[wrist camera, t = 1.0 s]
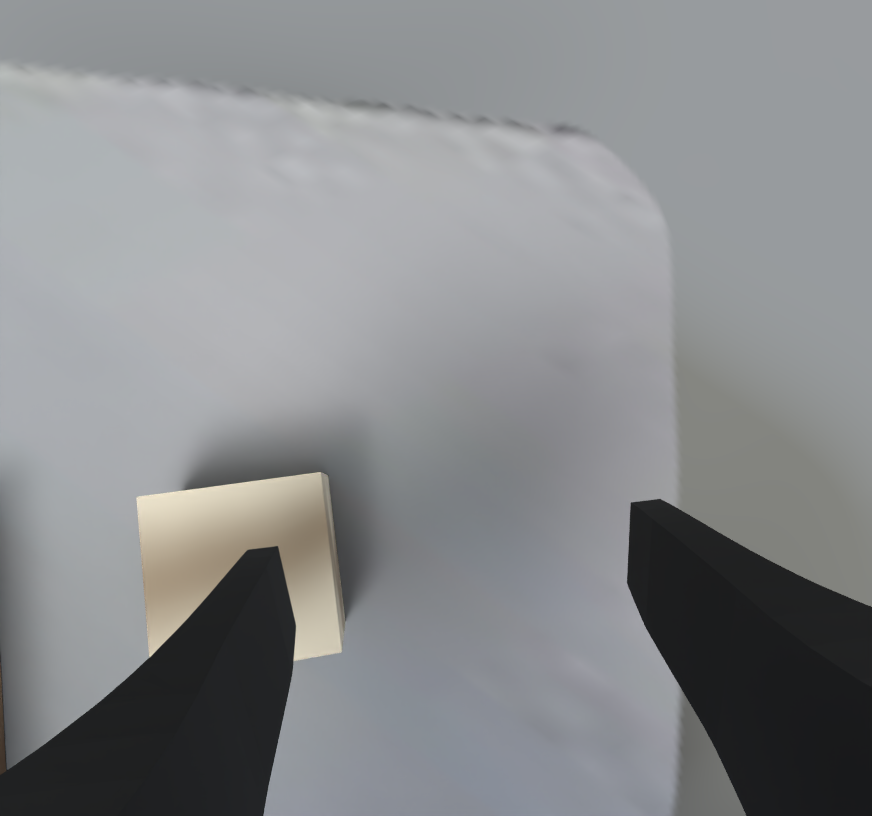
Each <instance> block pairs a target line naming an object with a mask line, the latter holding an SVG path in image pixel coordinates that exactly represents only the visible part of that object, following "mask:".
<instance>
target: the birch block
mask: <svg viewBox="0 0 872 816" xmlns="http://www.w3.org/2000/svg"><path fill="white" fill-rule="evenodd" d="M137 509H138V521H139V533H140V546H141V558H142V570H143V583H144V595H145V608H146V620H147V632H148V645H149V657H151V656H152V655H153V654H154V653H155V652H156V651H157V650H158V648H159V647H160V646H161V645H162V644H163V643H164V642H165V641H166V640H167V639H168V638H169V637H170V636H171V635H172V634H173V633H174V632H175V631H176V630H177V629H178V628H179V627H180V626H181V625H182V624H183V623H184V622H185V621H186V620H187V619H188V617H189V616H190V615H191V614H192V613H193V612H194V611H195V610H196V608H197V607H198V606H199V605H200V604H201V603H202V602H203V601H204V600H205V598H206V597H207V596H208V595H209V594H210V593H211V591H212V590H213V589H214V588H215V587H216V586H217V584H218V583H219V582H220V581H221V580H222V579H223V577H224V576H225V575H226V574H227V573H228V572H229V570H230V569H231V568H232V567H233V566H234V565H235V563H236V562H237V561H238V560H239V559H240V558H241V556H242V555H243V554H244V553H245V552H246V551H247V550H249V549H257V548H266V547H274V546H278V548H279V552H280V557H281V561H282V566H283V570H284V574H285V579H286V583H287V588H288V592H289V596H290V601H291V605H292V609H293V614H294V618H295V623H296V636H295V649H294V660H293V661H296V660H302V659H308V658H313V657H319V656H325V655H330V654H336V653H342V647H343V638H344V629H345V614H344V605H343V597H342V588H341V580H340V571H339V563H338V555H337V546H336V538H335V529H334V521H333V512H332V504H331V496H330V487H329V479H328V475H326V474H324V473H322V472H316V473H309V474H302V475H294V476H287V477H280V478H272V479H265V480H257V481H250V482H243V483H235V484H228V485H221V486H213V487H206V488H198V489H191V490H184V491H176V492H169V493H162V494H154V495H147V496H140V497H137Z"/></svg>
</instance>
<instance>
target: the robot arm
mask: <svg viewBox="0 0 872 816" xmlns="http://www.w3.org/2000/svg"><path fill="white" fill-rule="evenodd" d="M627 584H628V587H629V589H630V591H631V594H632V596H633V599H634V601H635V604H636V606H637V609H638V611H639V613H640V615H641V618H642V620H643V622H644V625H645V627H646V629H647V630H648V632H649V634H650V636H651V638H652V639H653V641H654V643H655V644H656V646H657V648H658V650H659V651H660V653H661V655H662V657H663V658H664V660H665V662H666V663H667V665H668V667H669V668H670V670H671V672H672V674H673V675H674V677H675V679H676V680H677V682H678V684H679V685H680V687H681V689H682V690H683V692H684V694H685V696H686V697H687V699H688V701H689V702H690V704H691V706H692V707H693V709H694V711H695V712H696V714H697V716H698V717H699V719H700V721H701V723H702V724H703V726H704V728H705V730H706V731H707V734H708V735H709V737H710V739H711V741H712V743H713V745H714V747H715V748H716V750H717V753H718V755H719V757H720V759H721V761H722V763H723V765H724V768H725V770H726V772H727V774H728V776H729V778H730V780H731V783H732V785H733V787H734V789H735V791H736V793H737V796H738V798H739V800H740V802H741V804H742V806H743V809H744V811H745V813H746V816H872V607H871V606H868V605H865V604H863V603H860V602H858V601H855V600H853V599H851V598H848V597H846V596H844V595H841V594H839V593H837V592H834V591H832V590H829V589H827V588H825V587H822V586H820V585H818V584H816V583H814V582H811V581H809V580H807V579H805V578H803V577H801V576H799V575H797V574H795V573H793V572H791V571H789V570H787V569H785V568H783V567H781V566H779V565H777V564H775V563H773V562H771V561H769V560H767V559H765V558H763V557H762V556H760V555H758V554H756V553H754V552H752V551H750V550H748V549H747V548H745V547H743V546H741V545H739V544H738V543H736V542H734V541H733V540H731V539H729V538H727V537H726V536H724V535H722V534H720V533H718V532H717V531H715V530H714V529H712V528H710V527H708V526H707V525H705V524H703V523H702V522H700V521H698V520H696V519H695V518H693V517H691V516H690V515H688V514H686V513H685V512H683V511H681V510H679V509H678V508H676V507H674V506H672V505H671V504H669V503H667V502H665V501H663V500H661V499H657V500H648V501H640V502H632V503H631V510H630V532H629V554H628V576H627ZM295 636H296V623H295V618H294V614H293V609H292V605H291V601H290V596H289V592H288V588H287V583H286V579H285V574H284V570H283V566H282V561H281V557H280V552H279V548H278V546H274V547H266V548H257V549H249V550H247V551H246V552H245V553H244V554H243V555H242V556H241V558H240V559H239V560H238V561H237V562H236V563H235V565H234V566H233V567H232V568H231V569H230V570H229V572H228V573H227V574H226V575H225V576H224V577H223V579H222V580H221V581H220V582H219V583H218V584H217V586H216V587H215V588H214V589H213V590H212V591H211V593H210V594H209V595H208V596H207V597H206V598H205V600H204V601H203V602H202V603H201V604H200V605H199V606H198V607H197V608H196V610H195V611H194V612H193V613H192V614H191V615H190V616H189V617H188V619H187V620H186V621H185V622H184V623H183V624H182V625H181V626H180V627H179V628H178V629H177V630H176V631H175V632H174V633H173V634H172V635H171V636H170V637H169V638H168V639H167V640H166V641H165V642H164V643H163V644H162V645H161V646H160V647H159V648H158V650H157V651H156V652H155V653H154V654H153V655H152V656H151V657H150V658H149V659H147V660H146V661H145V662H144V663H143V664H142V665H141V666H140V667H139V668H138V669H137V670H136V671H135V672H134V673H132V674H131V675H130V676H129V677H128V678H127V679H126V680H125V681H123V682H122V683H121V684H120V685H119V686H118V687H117V688H115V689H114V690H113V691H112V692H111V693H110V694H108V695H107V696H106V697H105V698H104V699H103V700H101V701H100V702H99V703H98V704H97V705H95V706H94V707H93V708H91V709H90V710H89V711H88V712H86V713H85V714H84V715H82V716H81V717H80V718H78V719H77V720H76V721H75V722H73V723H72V724H71V725H69V726H68V727H67V728H65V729H64V730H63V731H62V732H60V733H59V734H58V735H56V736H55V737H54V738H52V739H51V740H50V741H49V742H47V743H46V744H44V745H43V746H42V747H40V748H39V749H38V750H36V751H35V752H33V753H32V754H30V755H29V756H27V757H26V758H25V759H23V760H22V761H20V762H19V763H17V764H16V765H15V766H13V767H12V768H10V769H9V770H7V771H6V772H4V773H3V774H1V775H0V816H263V814H264V808H265V802H266V796H267V791H268V785H269V781H270V776H271V771H272V767H273V762H274V757H275V753H276V748H277V743H278V739H279V734H280V730H281V725H282V720H283V716H284V711H285V706H286V702H287V697H288V692H289V687H290V682H291V677H292V671H293V660H294V649H295Z"/></svg>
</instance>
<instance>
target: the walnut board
mask: <svg viewBox="0 0 872 816" xmlns="http://www.w3.org/2000/svg"><path fill="white" fill-rule="evenodd" d="M4 772H6V759H5V740H4V721H3V702H2V683H1V664H0V775H1V774H3V773H4Z"/></svg>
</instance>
